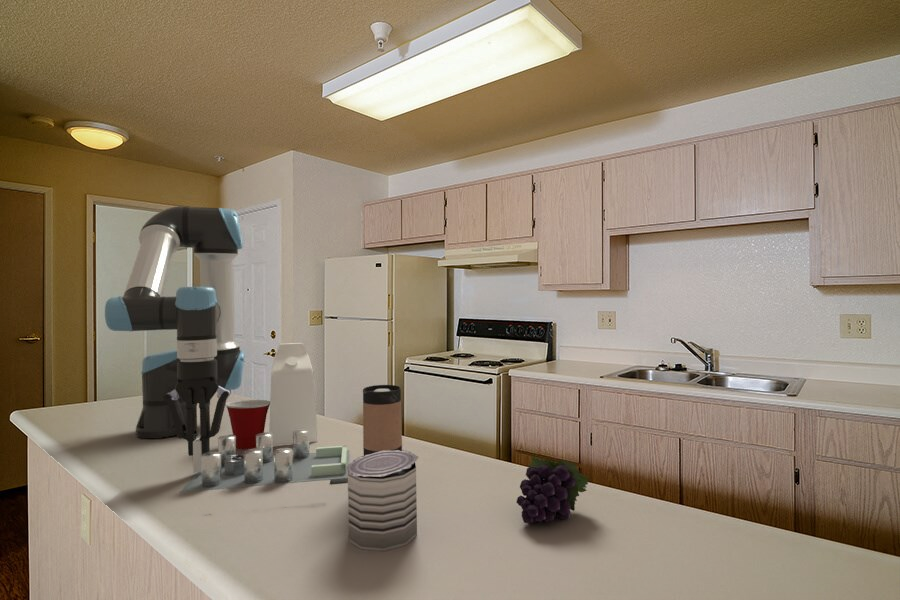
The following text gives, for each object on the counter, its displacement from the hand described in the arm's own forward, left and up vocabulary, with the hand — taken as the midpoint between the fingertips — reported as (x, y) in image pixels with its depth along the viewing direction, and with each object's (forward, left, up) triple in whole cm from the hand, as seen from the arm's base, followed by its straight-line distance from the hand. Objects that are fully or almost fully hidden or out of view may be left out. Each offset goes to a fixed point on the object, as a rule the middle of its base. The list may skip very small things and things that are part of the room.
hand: (199, 469), depth 101 cm
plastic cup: (-19, +6, -2) cm, 20 cm away
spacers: (0, +12, -2) cm, 12 cm away
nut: (0, +8, -1) cm, 8 cm away
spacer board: (0, +15, -2) cm, 15 cm away
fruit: (+32, +66, -2) cm, 73 cm away
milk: (-23, +16, -2) cm, 28 cm away
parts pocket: (0, +27, -2) cm, 27 cm away
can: (+32, +37, -2) cm, 49 cm away
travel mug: (+14, +38, -2) cm, 41 cm away
